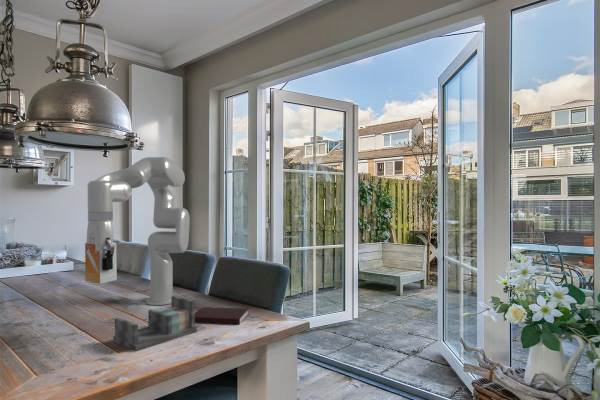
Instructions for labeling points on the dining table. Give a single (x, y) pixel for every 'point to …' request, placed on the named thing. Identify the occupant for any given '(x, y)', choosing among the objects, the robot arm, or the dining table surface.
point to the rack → (158, 325)
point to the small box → (98, 265)
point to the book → (221, 315)
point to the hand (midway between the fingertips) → (100, 268)
